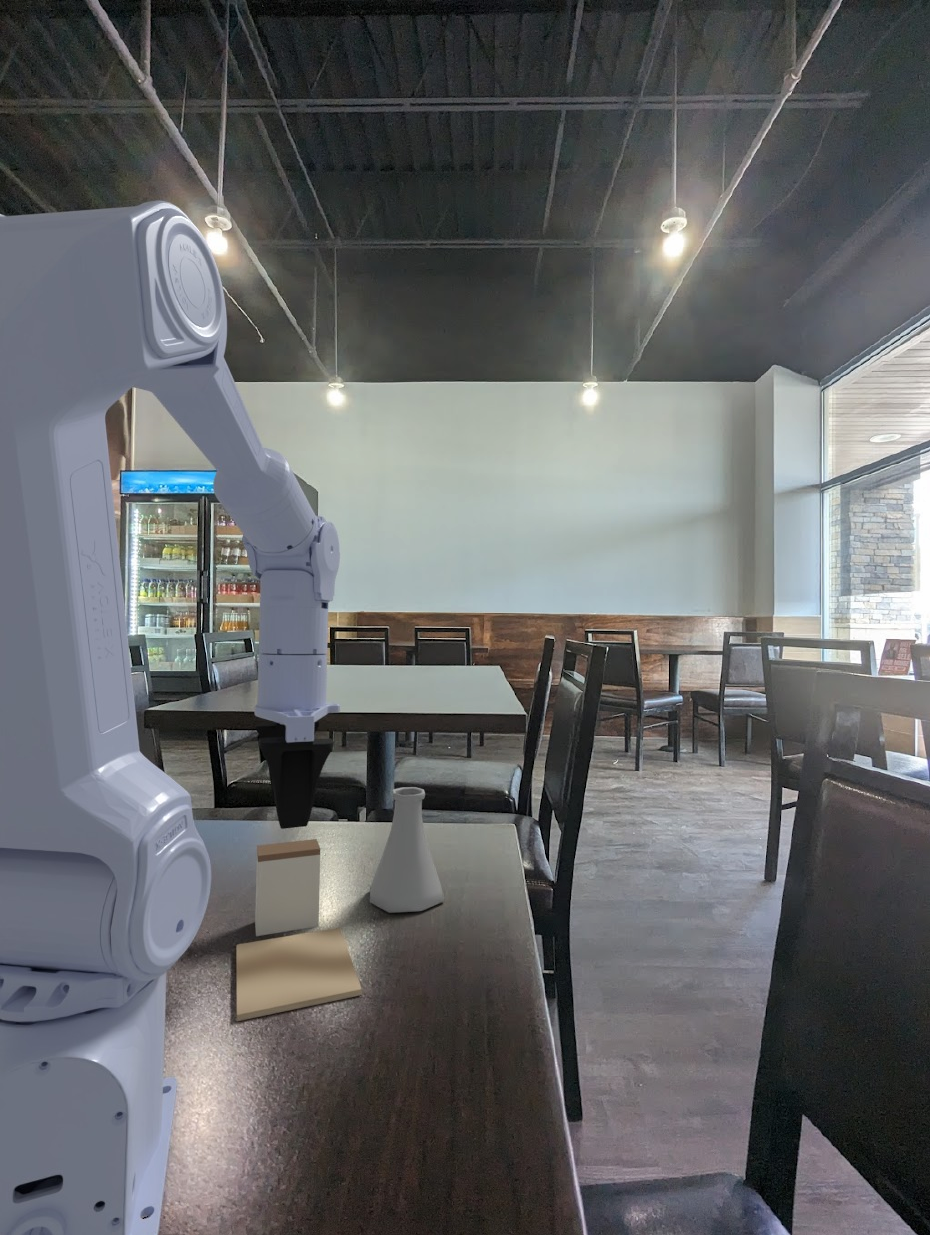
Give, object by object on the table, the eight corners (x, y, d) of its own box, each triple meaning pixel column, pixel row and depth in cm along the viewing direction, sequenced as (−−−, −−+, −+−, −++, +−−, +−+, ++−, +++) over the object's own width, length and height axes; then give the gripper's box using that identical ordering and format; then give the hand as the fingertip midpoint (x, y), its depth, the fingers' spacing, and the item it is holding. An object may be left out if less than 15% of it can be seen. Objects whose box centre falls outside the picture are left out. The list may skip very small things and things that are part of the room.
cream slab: (318, 926, 50) (320, 848, 50) (256, 936, 48) (258, 855, 48) (314, 912, 52) (316, 838, 52) (255, 922, 50) (257, 845, 50)
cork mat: (361, 994, 40) (361, 989, 40) (236, 1021, 37) (236, 1015, 37) (339, 932, 48) (339, 927, 48) (236, 949, 45) (236, 944, 46)
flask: (358, 889, 57) (360, 785, 57) (426, 876, 60) (427, 778, 60) (382, 922, 50) (385, 805, 51) (457, 905, 54) (459, 796, 54)
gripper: (355, 657, 45) (351, 834, 45) (328, 651, 59) (324, 787, 58) (259, 657, 43) (254, 845, 42) (253, 651, 56) (249, 793, 56)
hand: (289, 812), depth 50 cm, fingers open, 7 cm apart
